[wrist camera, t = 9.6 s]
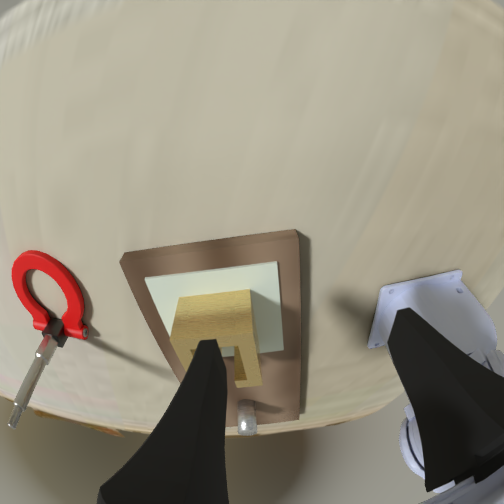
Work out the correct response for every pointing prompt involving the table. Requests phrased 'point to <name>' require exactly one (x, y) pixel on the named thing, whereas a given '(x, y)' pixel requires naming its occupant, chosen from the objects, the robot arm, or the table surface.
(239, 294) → the wooden box
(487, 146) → the table surface
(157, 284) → the sage pad
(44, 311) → the tow hook
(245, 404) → the steel post
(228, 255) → the stand board
